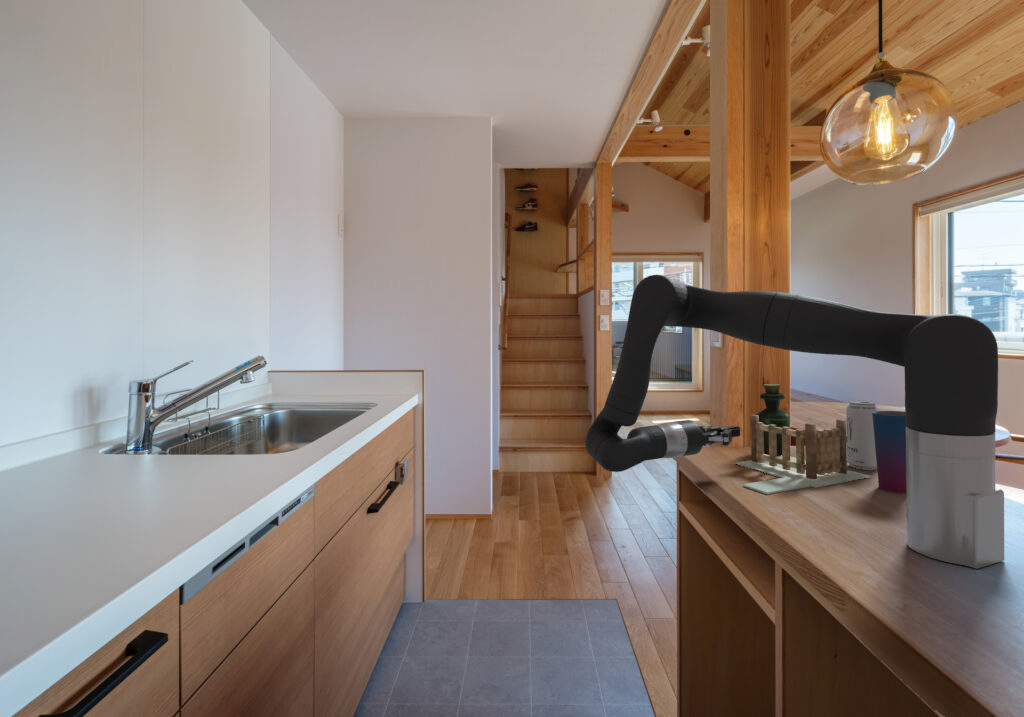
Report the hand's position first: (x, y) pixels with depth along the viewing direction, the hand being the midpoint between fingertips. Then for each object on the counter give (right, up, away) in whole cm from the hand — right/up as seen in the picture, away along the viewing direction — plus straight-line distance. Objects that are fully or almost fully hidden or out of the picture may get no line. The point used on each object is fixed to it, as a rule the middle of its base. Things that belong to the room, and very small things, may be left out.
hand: (737, 430), depth 110 cm
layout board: (+8, -9, -2) cm, 13 cm away
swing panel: (+9, -8, 0) cm, 12 cm away
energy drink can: (+29, -9, 0) cm, 30 cm away
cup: (+24, -9, -15) cm, 30 cm away
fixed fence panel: (+16, -9, -6) cm, 20 cm away
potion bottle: (+17, -9, +16) cm, 25 cm away
